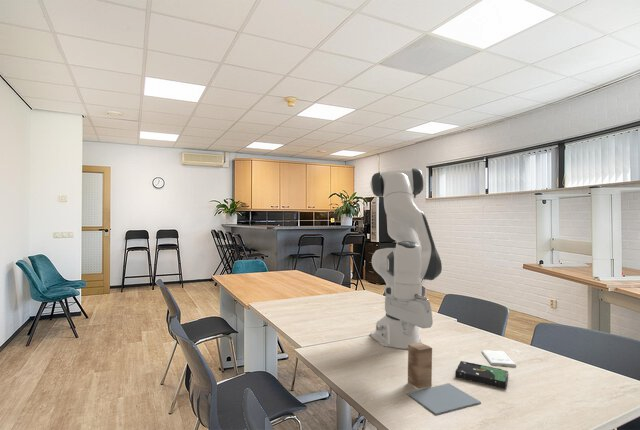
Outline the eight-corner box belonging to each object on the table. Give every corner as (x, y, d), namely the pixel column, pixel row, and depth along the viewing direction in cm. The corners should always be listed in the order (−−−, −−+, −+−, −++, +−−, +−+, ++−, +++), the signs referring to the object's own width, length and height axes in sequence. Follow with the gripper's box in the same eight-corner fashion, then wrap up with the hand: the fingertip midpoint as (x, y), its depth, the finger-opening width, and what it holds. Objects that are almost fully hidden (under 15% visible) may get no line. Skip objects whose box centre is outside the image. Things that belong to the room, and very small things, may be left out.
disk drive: (455, 379, 115) (506, 391, 108) (455, 371, 115) (506, 381, 108) (460, 368, 124) (508, 378, 117) (460, 360, 124) (508, 369, 117)
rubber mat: (406, 393, 104) (406, 392, 104) (449, 384, 110) (449, 383, 110) (435, 415, 93) (435, 413, 93) (480, 403, 99) (480, 401, 99)
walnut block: (407, 383, 110) (408, 344, 111) (420, 380, 112) (421, 342, 113) (418, 390, 106) (418, 350, 106) (431, 387, 108) (432, 347, 108)
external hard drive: (504, 355, 137) (516, 368, 125) (481, 353, 138) (491, 366, 126) (504, 351, 137) (516, 363, 125) (481, 349, 138) (491, 362, 126)
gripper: (437, 297, 107) (437, 343, 106) (396, 286, 126) (396, 326, 125) (421, 298, 104) (420, 346, 104) (381, 287, 123) (381, 328, 123)
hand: (407, 335), depth 115 cm, fingers closed
